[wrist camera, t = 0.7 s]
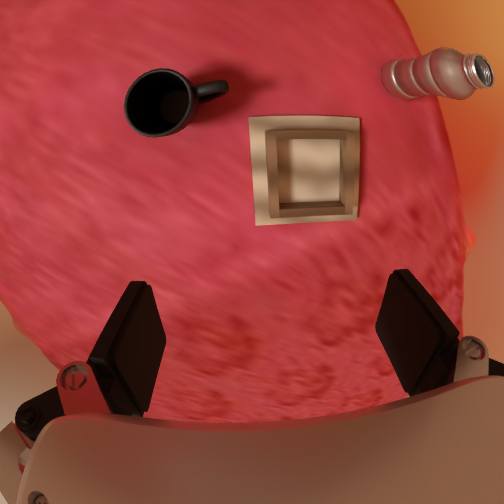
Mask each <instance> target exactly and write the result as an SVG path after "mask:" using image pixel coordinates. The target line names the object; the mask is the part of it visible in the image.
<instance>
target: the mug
mask: <svg viewBox="0 0 504 504" xmlns="http://www.w3.org/2000/svg"><path fill="white" fill-rule="evenodd" d="M228 92H229V86H228V82H227V81H226V80H217V81H212V82H207V83H203V84H199V85H196V86H193V84H192V83H191V82H190V81H189V80H188V79H187V78H186V77H185V76H183V75H182V74H180V73H179V72H177V71H175V70H171V69H162V68H160V69H155V70H151V71H149V72H146V73H144V74H143V75H141V76H140V77H139V78H137V79H136V80H135V81H134V83H133V84H132V85H131V87H130V88H129V90H128V92H127V95H126V97H125V103H124V112H125V116H126V119H127V121H128V123H129V125H130V126H131V127H132V128H133V129H134V130H135V131H136V132H138V133H139V134H141V135H144V136H147V137H162V136H168V135H172V134H174V133H177V132H179V131H180V130H182V129H184V128H185V127H186V126H187V125H188V124H189V123H190V122H191V121H192V120H193V118H194V117H195V115H196V112H197V109H198V104H202V103H205V102H208V101H211V100H213V99H216V98H218V97H221V96H223V95H225V94H227V93H228Z"/></svg>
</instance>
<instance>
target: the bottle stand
mask: <svg viewBox="0 0 504 504" xmlns="http://www.w3.org/2000/svg"><path fill="white" fill-rule="evenodd" d="M248 119H249V133H250V147H251V162H252V176H253V191H254V206H255V221H256V226H258V225H273V224H289V223H306V222H325V221H347V220H357V212H358V195H359V171H360V119H359V118H352V117H336V116H262V117H248Z"/></svg>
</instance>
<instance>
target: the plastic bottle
mask: <svg viewBox="0 0 504 504" xmlns="http://www.w3.org/2000/svg"><path fill="white" fill-rule="evenodd" d="M381 79H382V82H383V85H384V86H385V88H386V89H387V91H388V92H389V93H390V94H391V95H393V96H394V97H397V98H400V99H404V100H410V99H414V98H417V97H419V96H424V95H438V96H443V97H447V98H452V99H457V100H463V99H466V98H468V97H470V96H471V95H472V94H473V92H474V91H475V90H476V89H483V88H491V87H492V86H493V84H494V74H493V70H492V68H491V65H490V64H489V62H488V61H487V59H486V58H485V57H484V56H482V55H480V54H466V55H463V54H462V53H460V52H458V51H457V50H455V49H452V48H447V47H441V48H438V49H436V50H434V51H431V52H429V53H428V54H426V55H423V56H419V57H416V58H412V59H393V60H390V61H388V62H387V63H386V64H385V65H384V66H383V67H382V70H381Z"/></svg>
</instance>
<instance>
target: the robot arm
mask: <svg viewBox="0 0 504 504" xmlns="http://www.w3.org/2000/svg"><path fill="white" fill-rule="evenodd" d="M375 329H376V333H377V335H378V337H379V339H380V341H381V343H382V345H383V347H384V349H385V351H386V353H387V355H388V357H389V359H390V361H391V363H392V365H393V367H394V369H395V372H396V374H397V376H398V378H399V380H400V382H401V385H402V387H403V389H404V391H405V392H407V393H408V394H409V396H410V397H408V398H405V399H401V400H397V401H394V402H390V403H386V404H382V405H378V406H374V407H370V408H365V409H360V410H355V411H350V412H345V413H339V414H334V415H327V416H321V417H313V418H305V419H296V420H286V421H273V422H254V423H205V422H186V421H173V420H161V419H152V418H143V414H144V412H147V411H148V409H149V405H150V401H151V397H152V393H153V389H154V385H155V382H156V378H157V374H158V370H159V367H160V363H161V359H162V356H163V352H164V349H165V345H166V335H165V332H164V329H163V326H162V322H161V319H160V316H159V312H158V309H157V305H156V302H155V298H154V295H153V291H152V288H151V286H150V285H147V283H146V282H145V281H131V282H130V283H129V285H128V286H127V288H126V290H125V292H124V293H123V295H122V297H121V298H120V300H119V302H118V304H117V305H116V307H115V309H114V311H113V312H112V314H111V316H110V318H109V320H108V321H107V323H106V325H105V327H104V329H103V331H102V333H101V334H100V336H99V338H98V340H97V342H96V344H95V346H94V348H93V350H92V352H91V354H90V356H89V358H88V360H87V362H86V363H85V362H82V361H74V362H71V363H69V364H67V365H65V366H64V367H63V368H62V369H61V370H60V372H59V374H58V376H57V379H56V382H57V386H56V387H54V388H52V389H50V390H48V391H46V392H44V393H42V394H41V395H38V396H36V397H34V398H32V399H30V400H28V401H27V402H25V403H23V404H22V405H21V406H20V407H19V408H18V410H17V412H16V416H15V423H13V422H10V423H9V424H8V425H7V426H6V427H5V428H4V429H3V430H2V431H1V432H0V491H1V493H2V495H3V496H4V498H5V500H6V501H7V502H8V504H504V364H503V363H500V362H498V361H495V360H493V359H490V358H489V354H488V349H487V347H486V345H485V344H484V343H483V342H482V341H481V340H480V339H478V338H476V337H474V336H465V337H462V338H461V339H460V341H459V339H458V338H457V337H458V335H459V333H460V332H459V331H458V330H457V328H456V327H455V326H454V324H453V323H452V322H451V320H450V319H449V318H448V316H447V315H446V314H445V313H444V311H443V310H442V309H441V308H440V306H439V305H438V304H437V303H436V301H435V300H434V299H433V298H432V296H431V295H430V294H429V293H428V292H427V290H426V289H425V288H424V287H423V286H422V285H421V283H420V282H419V281H418V280H417V279H416V278H415V277H414V275H413V274H412V273H411V272H410V271H409V270H408V269H399V270H394V271H393V273H392V274H390V276H389V279H388V283H387V287H386V291H385V294H384V298H383V301H382V305H381V308H380V312H379V315H378V318H377V321H376V325H375Z"/></svg>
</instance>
